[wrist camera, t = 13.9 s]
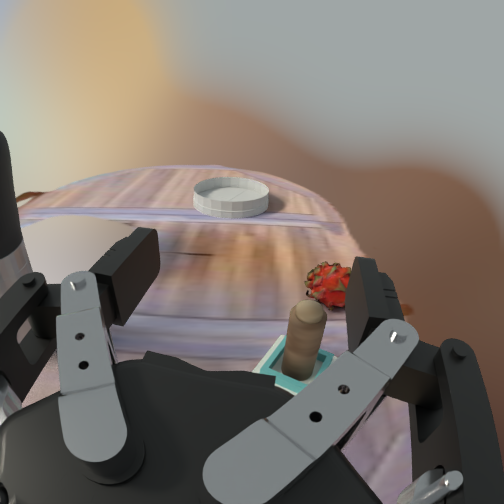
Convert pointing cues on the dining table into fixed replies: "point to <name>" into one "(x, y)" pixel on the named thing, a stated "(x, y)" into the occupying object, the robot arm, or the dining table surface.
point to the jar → (303, 339)
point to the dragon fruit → (328, 284)
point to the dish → (231, 197)
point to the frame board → (274, 362)
